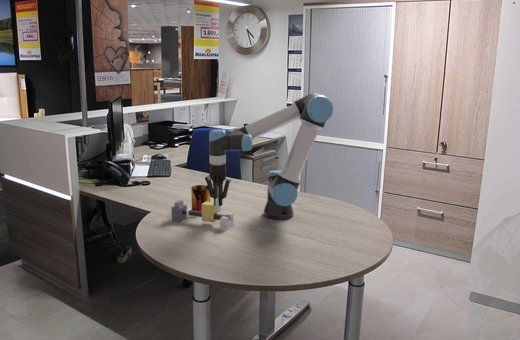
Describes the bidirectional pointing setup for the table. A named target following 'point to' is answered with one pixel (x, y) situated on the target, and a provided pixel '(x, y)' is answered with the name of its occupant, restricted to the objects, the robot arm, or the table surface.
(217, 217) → the dark grey rod
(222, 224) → the gray notched block
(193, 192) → the mug
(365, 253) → the table surface
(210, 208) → the sleeve
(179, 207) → the block
